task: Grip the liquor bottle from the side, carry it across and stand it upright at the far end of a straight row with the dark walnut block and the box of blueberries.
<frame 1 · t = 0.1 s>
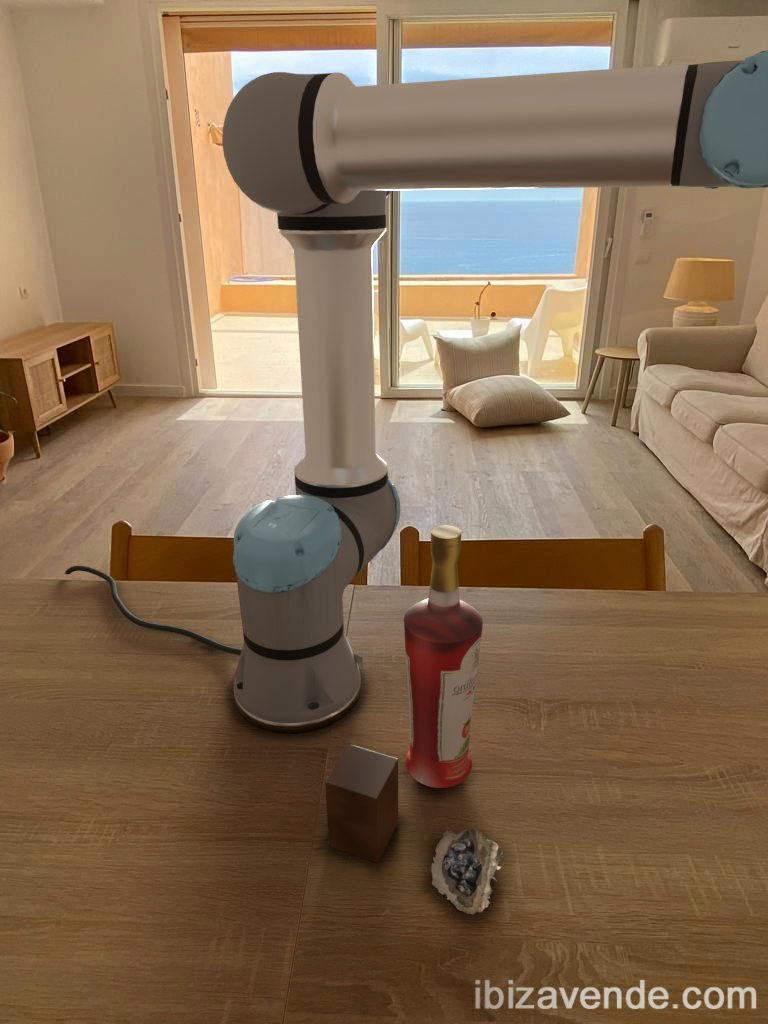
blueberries: (468, 874, 62), on the table
walnut block: (364, 833, 66), on the table
liquor: (438, 772, 73), on the table
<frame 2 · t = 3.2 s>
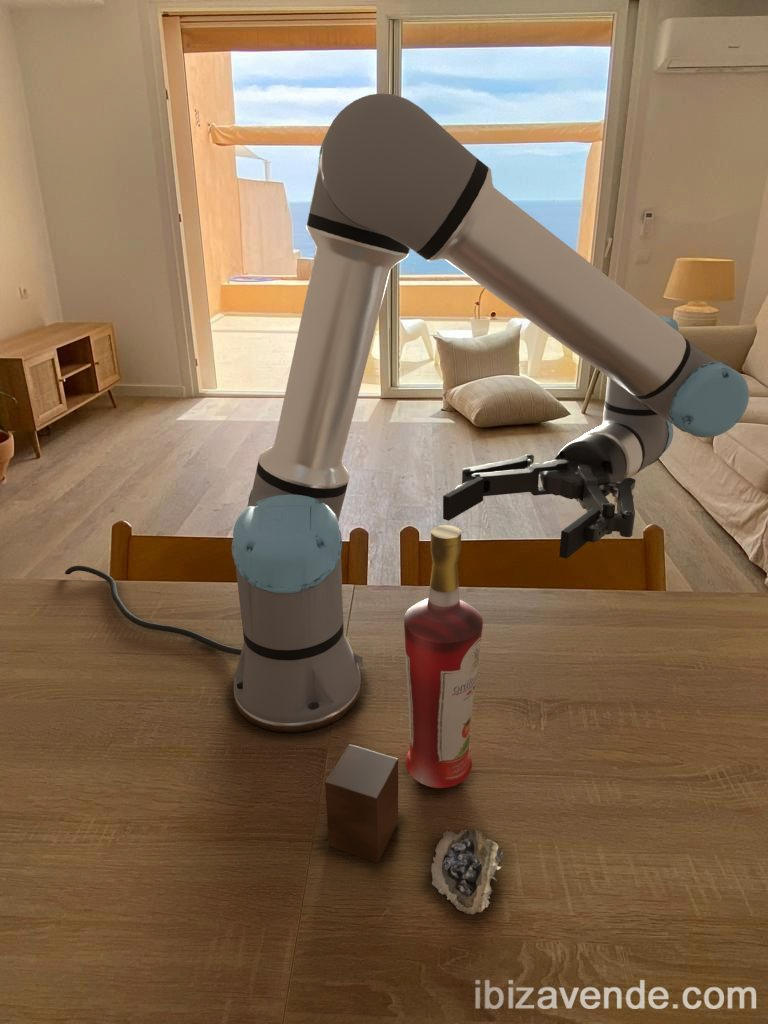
hand: (501, 525, 69), 25 cm above the table, tool horizontal, fingers open, 13 cm apart
nothing on the table moved.
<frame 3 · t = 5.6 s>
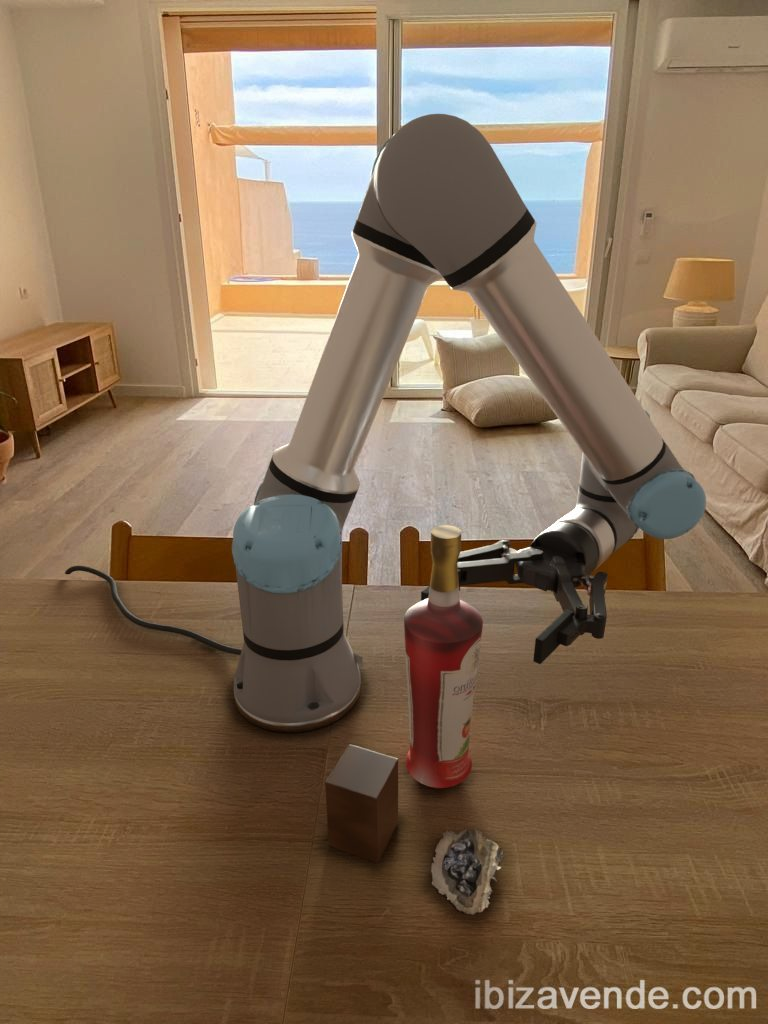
hand: (477, 626, 70), 15 cm above the table, tool horizontal, fingers open, 13 cm apart
nothing on the table moved.
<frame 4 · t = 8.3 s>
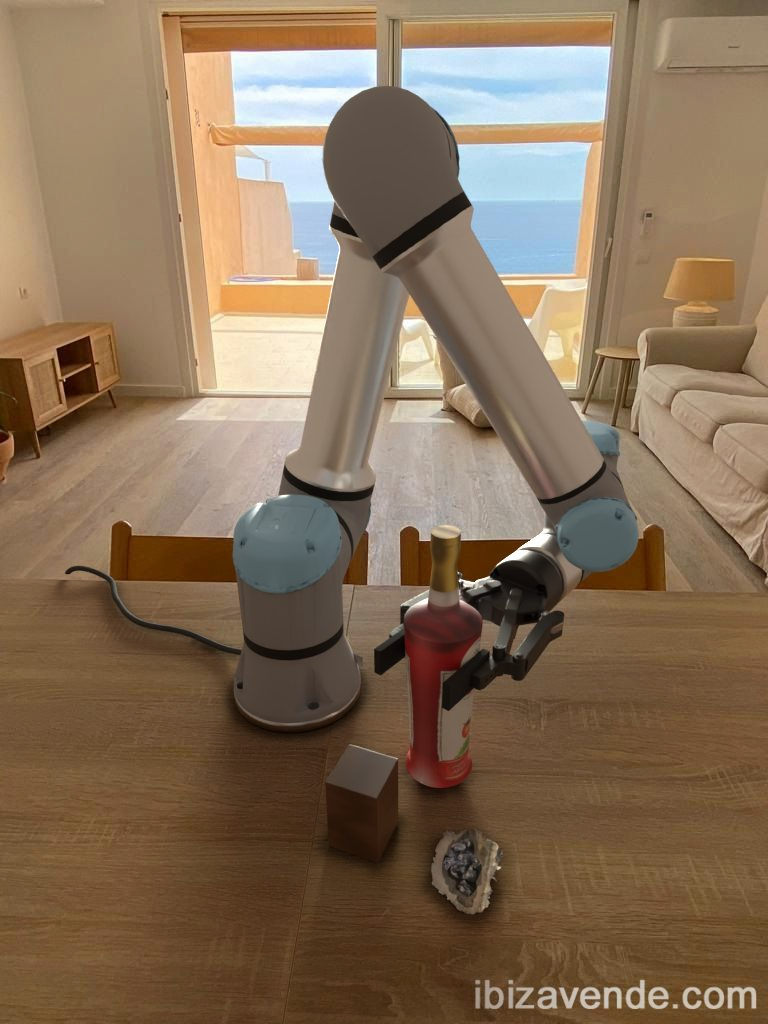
hand: (410, 679, 63), 15 cm above the table, tool horizontal, fingers closed on liquor, 7 cm apart
liquor: (438, 772, 73), on the table, touching gripper
everything else where it was.
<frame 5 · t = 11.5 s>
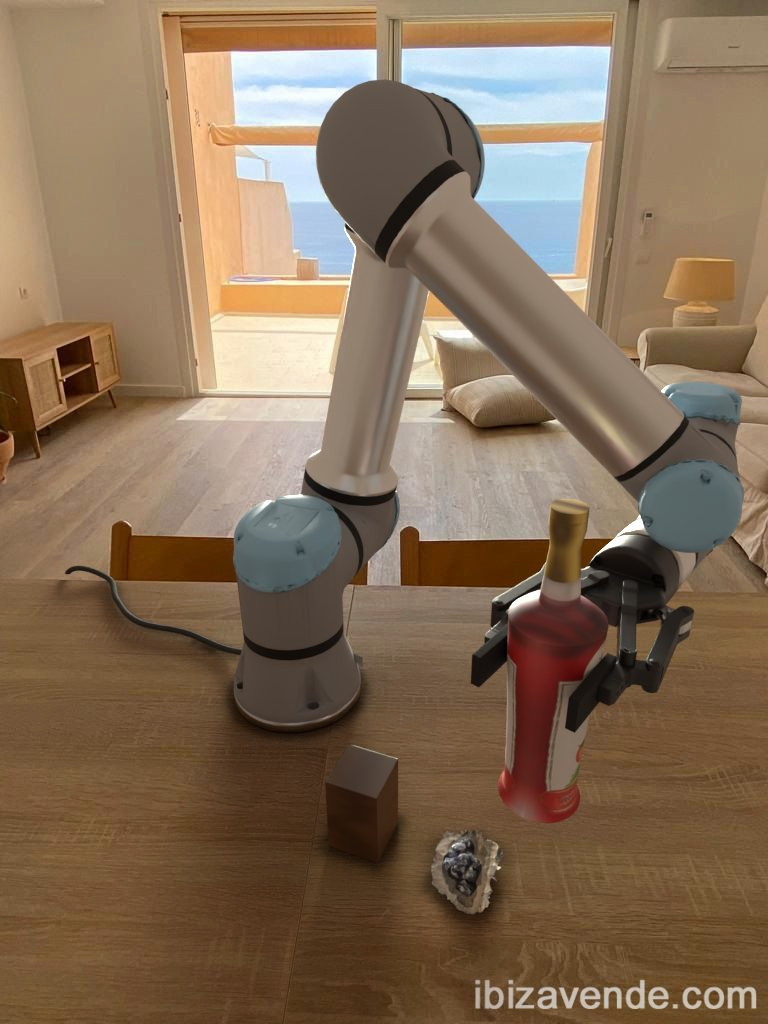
hand: (521, 692, 50), 22 cm above the table, tool horizontal, fingers closed on liquor, 7 cm apart
liquor: (537, 802, 60), point 7 cm above the table, touching gripper
everything else where it was.
when the fingers open (15 cm above the table, at t = 14.7 s): liquor stays where it is, on the table.
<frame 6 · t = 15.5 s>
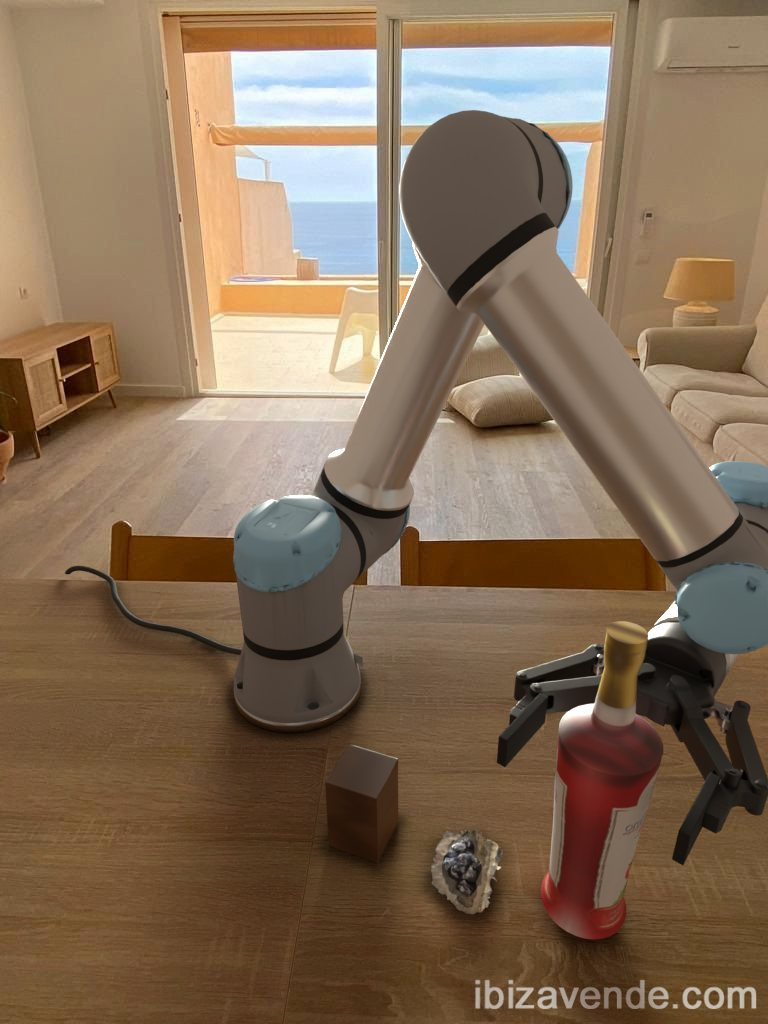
hand: (584, 796, 50), 16 cm above the table, tool horizontal, fingers open, 13 cm apart
liquor: (581, 910, 59), on the table
everything else where it was.
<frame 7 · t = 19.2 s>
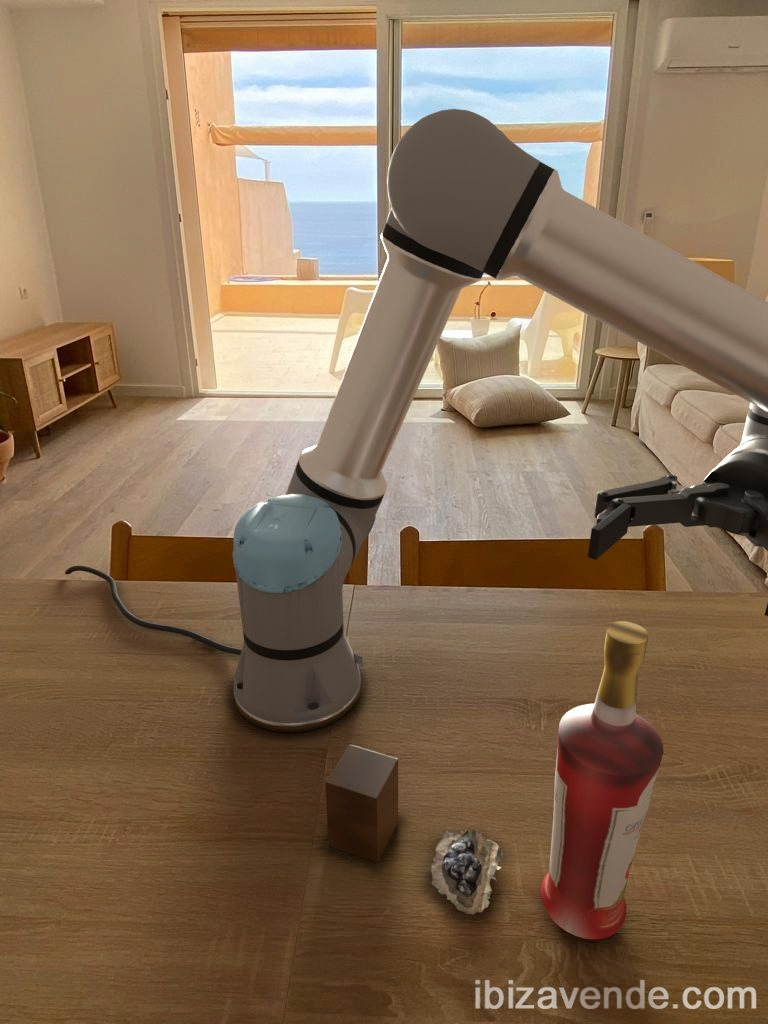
hand: (677, 570, 53), 28 cm above the table, tool horizontal, fingers open, 13 cm apart
nothing on the table moved.
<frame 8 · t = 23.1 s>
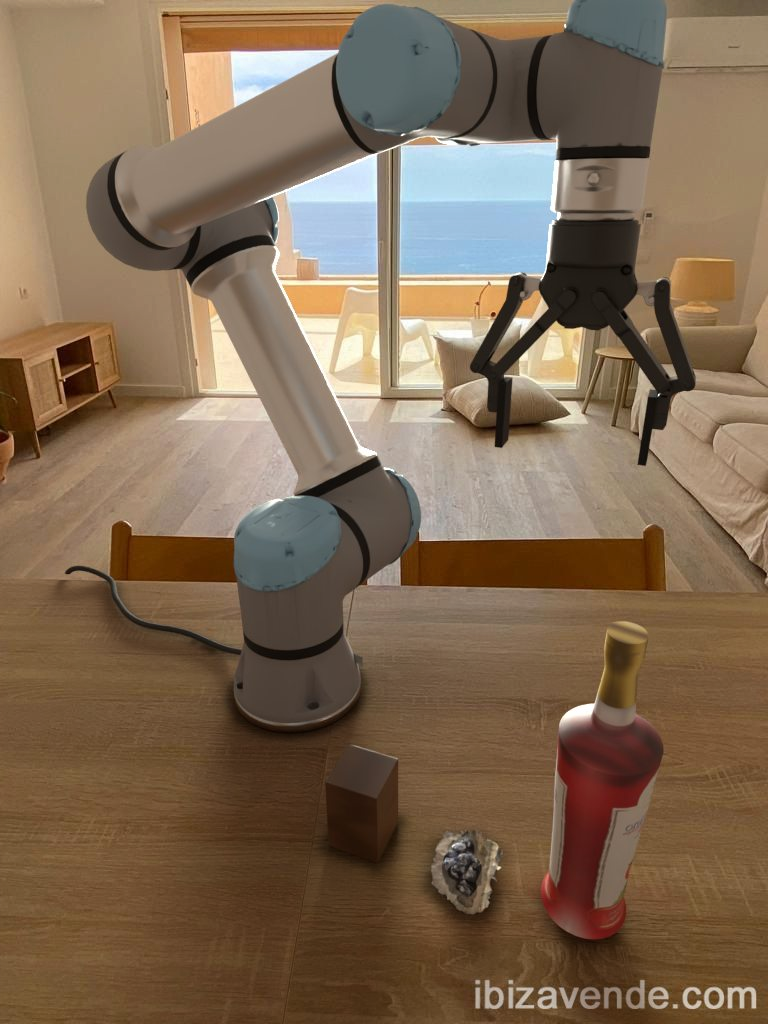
hand: (569, 452, 68), 32 cm above the table, tool pointing down, fingers open, 13 cm apart
nothing on the table moved.
at the end: liquor 0.1 cm from the target spot, on the table; liquor tilted 0°; walnut block moved 0.0 cm from its start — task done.
